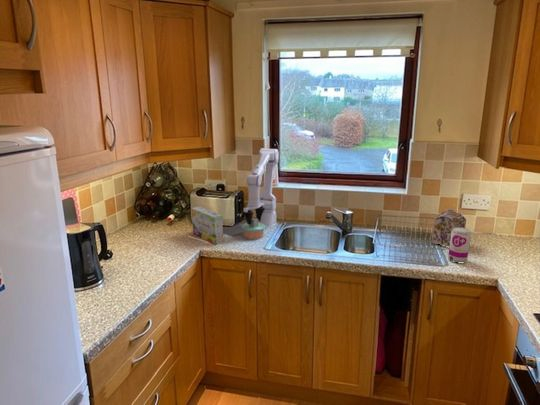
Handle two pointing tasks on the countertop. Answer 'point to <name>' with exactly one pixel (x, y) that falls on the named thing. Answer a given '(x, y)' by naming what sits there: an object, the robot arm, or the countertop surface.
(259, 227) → the lid
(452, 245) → the supplement can
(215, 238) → the snack box
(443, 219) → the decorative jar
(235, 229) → the mat
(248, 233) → the bucket
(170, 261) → the countertop surface
